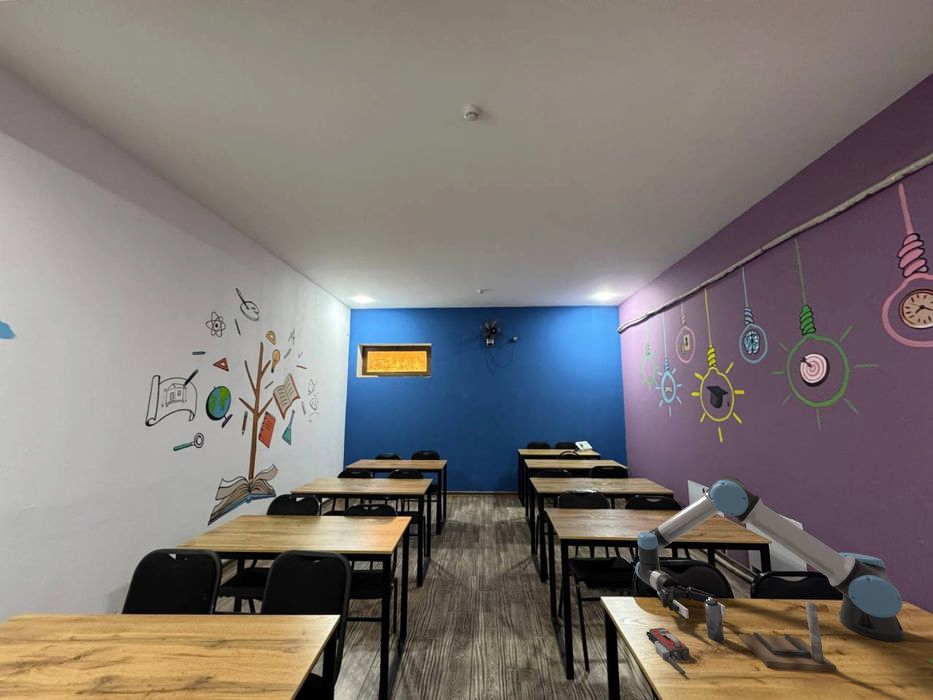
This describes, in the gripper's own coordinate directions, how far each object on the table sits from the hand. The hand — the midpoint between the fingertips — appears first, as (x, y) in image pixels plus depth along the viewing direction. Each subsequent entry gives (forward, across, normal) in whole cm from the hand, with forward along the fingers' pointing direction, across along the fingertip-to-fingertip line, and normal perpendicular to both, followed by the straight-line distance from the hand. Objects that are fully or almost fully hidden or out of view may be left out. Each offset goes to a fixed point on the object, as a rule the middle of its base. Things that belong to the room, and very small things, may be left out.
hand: (706, 612), depth 128 cm
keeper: (+14, -14, -6) cm, 21 cm away
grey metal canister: (+3, 0, -6) cm, 7 cm away
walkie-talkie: (+8, +19, -7) cm, 22 cm away
